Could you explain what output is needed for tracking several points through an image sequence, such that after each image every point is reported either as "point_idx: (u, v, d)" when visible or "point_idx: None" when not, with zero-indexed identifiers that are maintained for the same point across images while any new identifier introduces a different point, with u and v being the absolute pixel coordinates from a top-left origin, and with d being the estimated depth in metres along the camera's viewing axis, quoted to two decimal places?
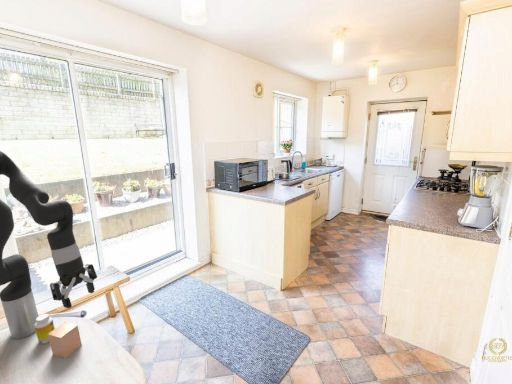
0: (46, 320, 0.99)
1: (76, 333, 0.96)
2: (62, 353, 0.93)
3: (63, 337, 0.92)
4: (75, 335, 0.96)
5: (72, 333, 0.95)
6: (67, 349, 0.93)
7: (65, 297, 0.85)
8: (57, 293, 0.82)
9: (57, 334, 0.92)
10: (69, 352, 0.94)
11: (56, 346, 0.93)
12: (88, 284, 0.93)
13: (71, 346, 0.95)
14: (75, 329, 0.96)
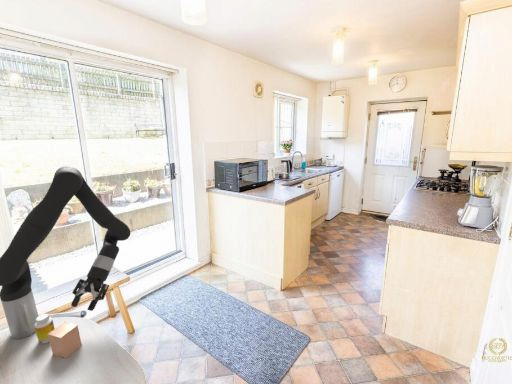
0: (46, 320, 0.99)
1: (76, 333, 0.96)
2: (62, 353, 0.93)
3: (63, 337, 0.92)
4: (75, 335, 0.96)
5: (72, 333, 0.95)
6: (67, 349, 0.93)
7: None
8: None
9: (57, 334, 0.92)
10: (69, 352, 0.94)
11: (56, 346, 0.93)
12: (78, 297, 1.04)
13: (71, 346, 0.95)
14: (75, 329, 0.96)
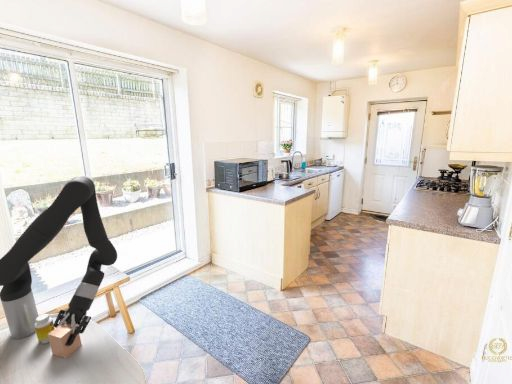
0: (46, 320, 0.99)
1: None
2: (62, 353, 0.93)
3: (63, 337, 0.92)
4: None
5: None
6: (67, 349, 0.93)
7: None
8: None
9: (57, 334, 0.92)
10: (69, 352, 0.94)
11: (56, 346, 0.93)
12: None
13: (71, 346, 0.95)
14: None
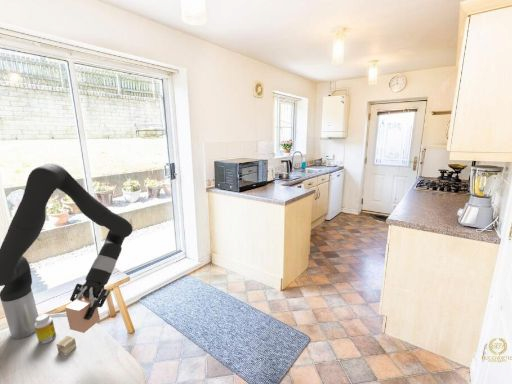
0: (46, 320, 0.99)
1: None
2: (80, 327, 0.87)
3: (81, 310, 0.86)
4: None
5: None
6: (85, 323, 0.88)
7: None
8: None
9: (75, 307, 0.87)
10: (87, 327, 0.89)
11: (74, 320, 0.87)
12: None
13: (89, 320, 0.90)
14: None
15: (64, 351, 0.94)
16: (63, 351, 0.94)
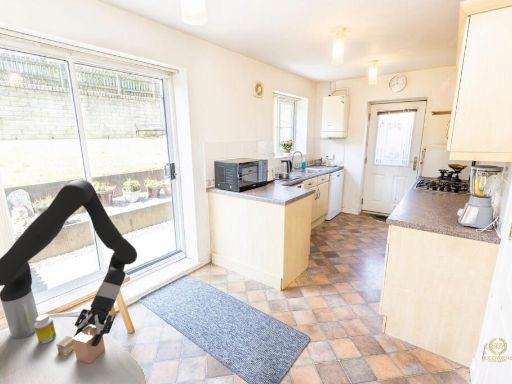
0: (46, 320, 0.99)
1: None
2: (87, 358, 0.90)
3: (88, 342, 0.89)
4: None
5: None
6: (91, 354, 0.91)
7: None
8: None
9: (82, 339, 0.90)
10: (93, 357, 0.92)
11: (80, 351, 0.91)
12: (81, 330, 0.95)
13: (95, 351, 0.93)
14: None
15: (64, 351, 0.94)
16: (63, 351, 0.94)
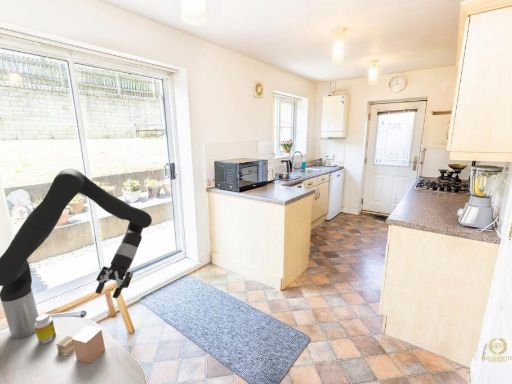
0: (46, 320, 0.99)
1: (100, 337, 0.94)
2: (87, 358, 0.90)
3: (88, 342, 0.89)
4: (99, 340, 0.94)
5: (97, 337, 0.93)
6: (91, 354, 0.91)
7: None
8: None
9: (82, 339, 0.90)
10: (93, 357, 0.92)
11: (80, 351, 0.91)
12: (102, 284, 1.04)
13: (95, 351, 0.93)
14: (99, 333, 0.94)
15: (64, 351, 0.94)
16: (63, 351, 0.94)
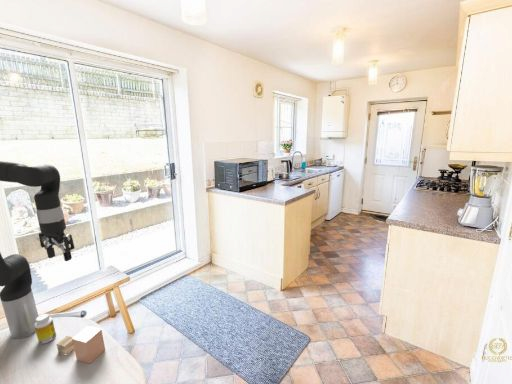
0: (46, 320, 0.99)
1: (100, 337, 0.94)
2: (87, 358, 0.90)
3: (88, 342, 0.89)
4: (99, 340, 0.94)
5: (97, 337, 0.93)
6: (91, 354, 0.91)
7: None
8: None
9: (82, 339, 0.90)
10: (93, 357, 0.92)
11: (80, 351, 0.91)
12: (50, 249, 0.98)
13: (95, 351, 0.93)
14: (99, 333, 0.94)
15: (64, 351, 0.94)
16: (63, 351, 0.94)
